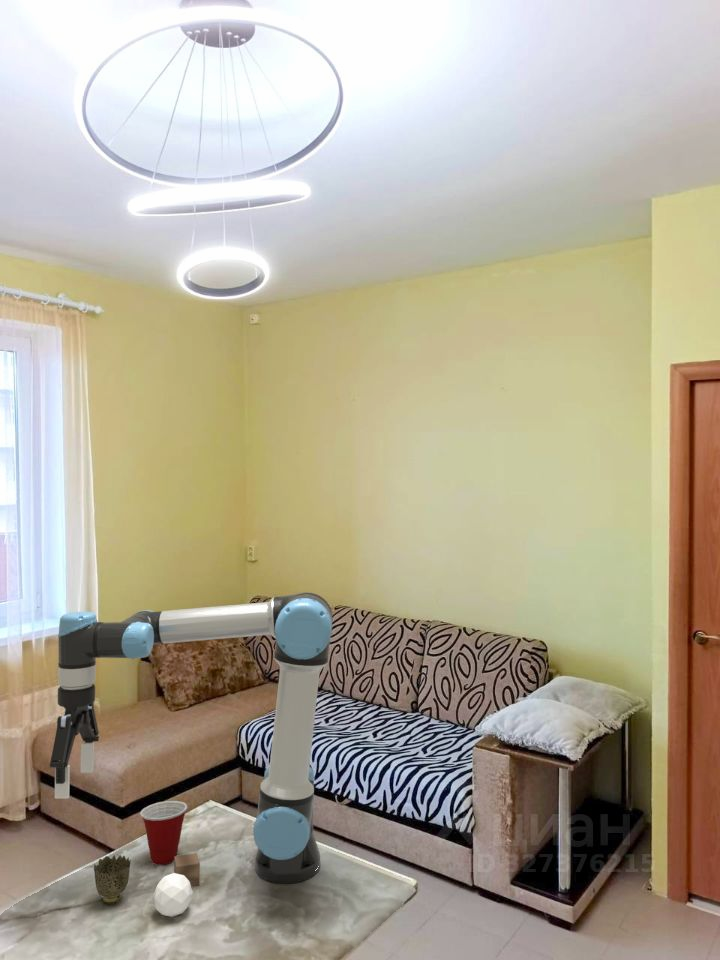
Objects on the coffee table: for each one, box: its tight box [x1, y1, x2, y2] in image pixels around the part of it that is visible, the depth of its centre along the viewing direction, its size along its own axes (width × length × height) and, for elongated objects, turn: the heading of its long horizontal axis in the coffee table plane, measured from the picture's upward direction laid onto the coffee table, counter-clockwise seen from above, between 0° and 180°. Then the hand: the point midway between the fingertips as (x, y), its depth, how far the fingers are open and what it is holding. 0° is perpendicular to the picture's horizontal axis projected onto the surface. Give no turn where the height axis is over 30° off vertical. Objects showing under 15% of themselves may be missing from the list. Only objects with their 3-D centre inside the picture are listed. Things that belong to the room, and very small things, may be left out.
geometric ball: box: [152, 872, 194, 918], centre depth 148 cm, size 8×8×8 cm
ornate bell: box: [93, 854, 132, 906], centre depth 152 cm, size 8×7×8 cm
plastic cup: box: [140, 800, 188, 866], centre depth 170 cm, size 11×11×12 cm
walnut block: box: [173, 852, 201, 888], centre depth 160 cm, size 5×5×5 cm
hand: (75, 784), depth 154 cm, fingers open, 13 cm apart
